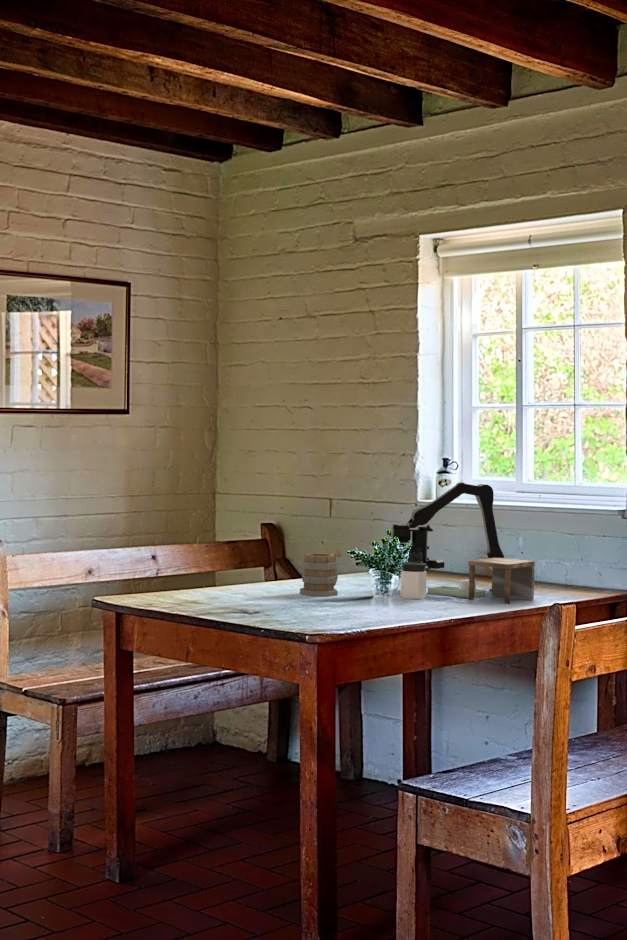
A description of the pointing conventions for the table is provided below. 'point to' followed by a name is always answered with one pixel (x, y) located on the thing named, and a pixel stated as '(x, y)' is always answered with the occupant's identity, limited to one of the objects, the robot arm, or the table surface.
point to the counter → (506, 578)
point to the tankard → (320, 574)
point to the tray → (457, 590)
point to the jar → (413, 580)
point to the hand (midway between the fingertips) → (418, 586)
